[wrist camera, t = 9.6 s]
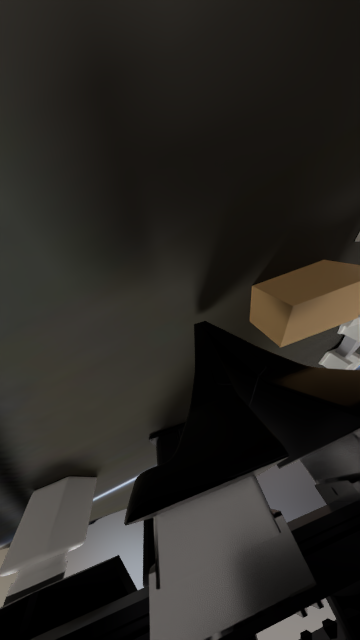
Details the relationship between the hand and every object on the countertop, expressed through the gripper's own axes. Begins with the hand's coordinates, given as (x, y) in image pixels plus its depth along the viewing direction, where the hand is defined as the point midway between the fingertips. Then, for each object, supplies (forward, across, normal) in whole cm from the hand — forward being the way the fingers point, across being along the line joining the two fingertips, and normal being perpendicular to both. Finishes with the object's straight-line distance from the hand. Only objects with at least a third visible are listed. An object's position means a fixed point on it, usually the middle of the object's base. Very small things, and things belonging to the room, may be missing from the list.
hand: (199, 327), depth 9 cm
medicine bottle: (+1, +29, +29) cm, 41 cm away
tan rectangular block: (+1, -8, 0) cm, 8 cm away
